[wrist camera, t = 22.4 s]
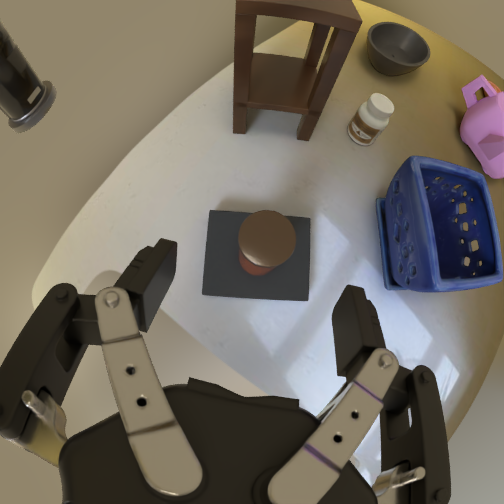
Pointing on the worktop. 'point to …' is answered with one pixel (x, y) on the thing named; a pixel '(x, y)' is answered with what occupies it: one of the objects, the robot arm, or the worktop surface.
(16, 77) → the robot arm
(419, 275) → the flower pot
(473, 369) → the worktop surface
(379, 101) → the pill bottle
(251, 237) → the spice jar
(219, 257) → the pad
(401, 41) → the bowl
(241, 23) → the stand
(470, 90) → the teapot
